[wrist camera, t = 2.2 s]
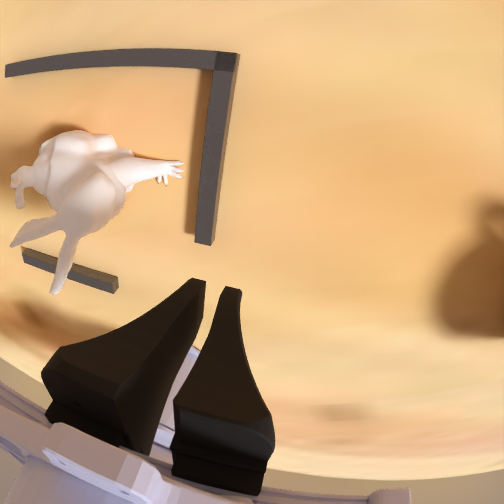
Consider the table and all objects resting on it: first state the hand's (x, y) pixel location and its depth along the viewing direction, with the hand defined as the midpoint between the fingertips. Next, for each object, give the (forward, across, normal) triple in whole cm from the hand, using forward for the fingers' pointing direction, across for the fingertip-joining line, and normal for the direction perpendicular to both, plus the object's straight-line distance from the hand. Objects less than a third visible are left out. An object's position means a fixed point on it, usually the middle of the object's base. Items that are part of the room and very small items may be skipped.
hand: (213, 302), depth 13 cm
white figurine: (+10, +12, 0) cm, 15 cm away
